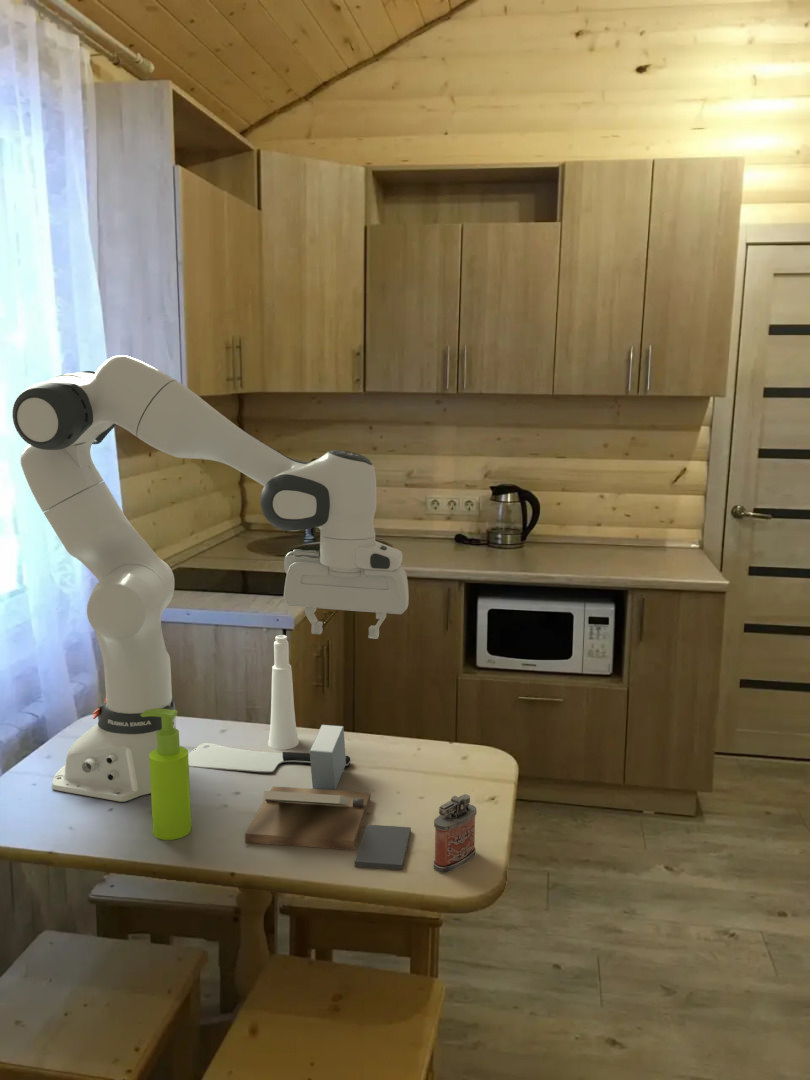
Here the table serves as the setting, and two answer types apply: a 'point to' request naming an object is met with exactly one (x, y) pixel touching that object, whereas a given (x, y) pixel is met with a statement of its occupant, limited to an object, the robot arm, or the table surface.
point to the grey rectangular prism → (328, 757)
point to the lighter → (454, 834)
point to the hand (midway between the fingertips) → (345, 635)
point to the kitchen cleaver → (244, 758)
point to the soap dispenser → (169, 780)
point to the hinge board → (309, 821)
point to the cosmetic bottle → (282, 699)
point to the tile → (307, 798)
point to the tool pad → (383, 847)
